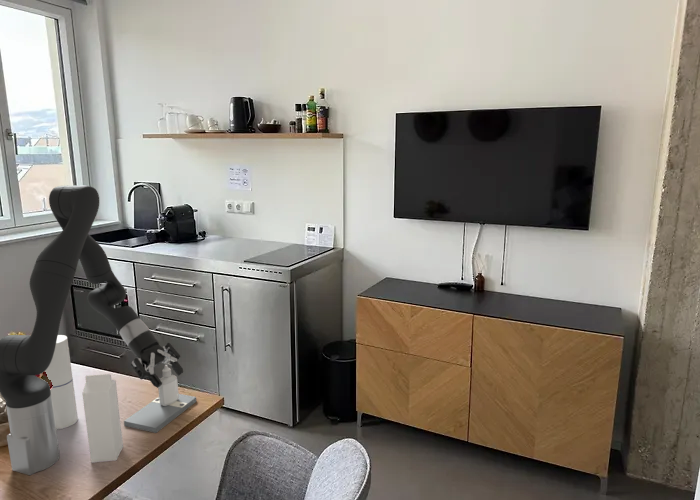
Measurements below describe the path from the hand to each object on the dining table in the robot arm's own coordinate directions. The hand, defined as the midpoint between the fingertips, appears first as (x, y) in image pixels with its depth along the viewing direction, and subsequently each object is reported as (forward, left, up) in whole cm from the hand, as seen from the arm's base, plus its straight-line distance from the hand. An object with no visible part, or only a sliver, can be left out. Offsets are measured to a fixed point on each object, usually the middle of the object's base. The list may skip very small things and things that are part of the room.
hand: (170, 379), depth 146 cm
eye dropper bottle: (0, +2, -8) cm, 8 cm away
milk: (-24, +1, -9) cm, 26 cm away
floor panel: (-3, +1, -9) cm, 10 cm away
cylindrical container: (-16, +25, -9) cm, 31 cm away
